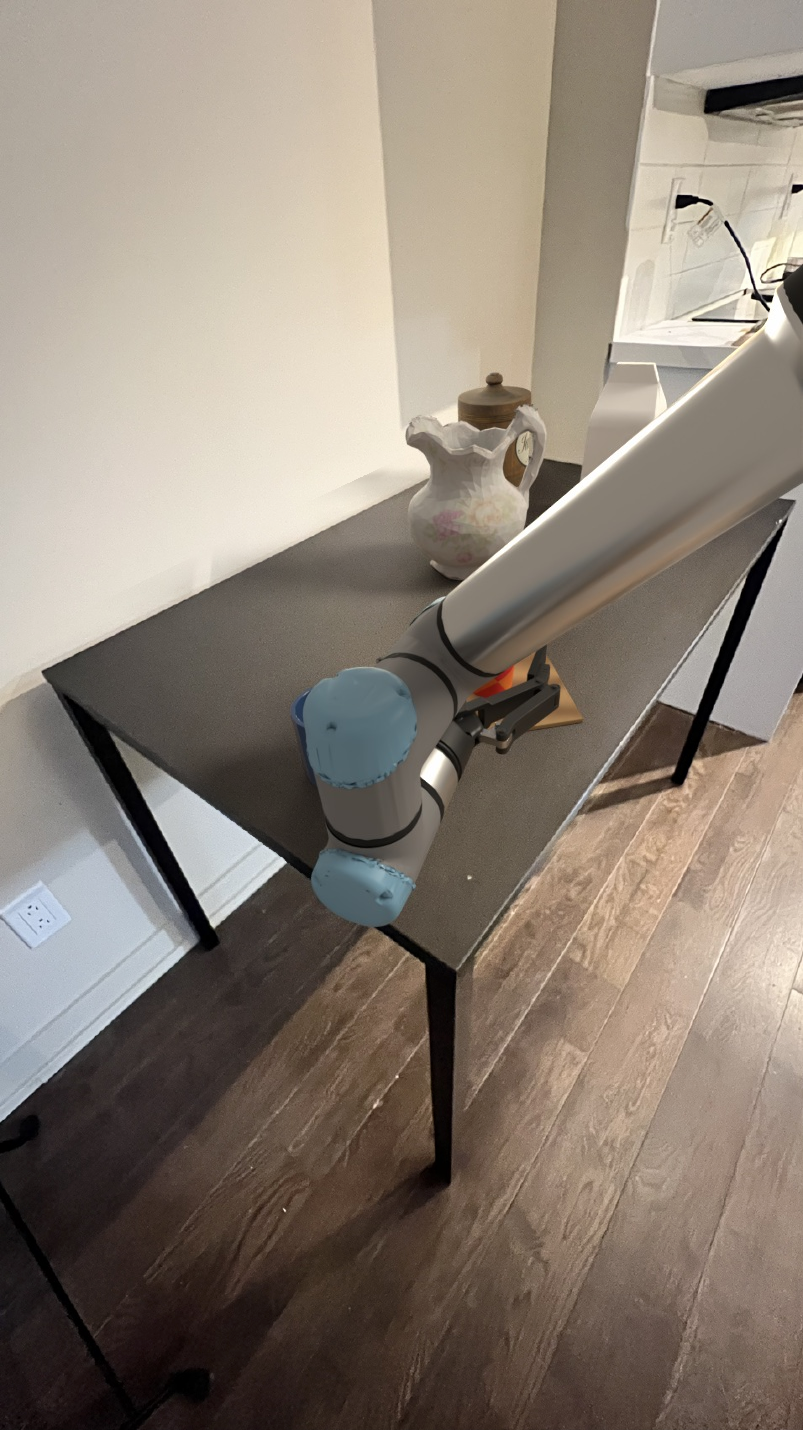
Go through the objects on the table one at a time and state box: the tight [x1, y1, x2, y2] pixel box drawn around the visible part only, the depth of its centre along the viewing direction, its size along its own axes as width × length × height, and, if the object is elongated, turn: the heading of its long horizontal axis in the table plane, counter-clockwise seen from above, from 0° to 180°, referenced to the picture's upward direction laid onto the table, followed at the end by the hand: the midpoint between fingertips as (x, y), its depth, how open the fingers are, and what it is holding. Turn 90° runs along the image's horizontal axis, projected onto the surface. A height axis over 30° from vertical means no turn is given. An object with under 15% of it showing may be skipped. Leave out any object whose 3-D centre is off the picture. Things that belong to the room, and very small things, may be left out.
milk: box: [579, 361, 668, 483], centre depth 109 cm, size 12×12×26 cm
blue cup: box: [290, 685, 318, 788], centre depth 69 cm, size 8×8×9 cm
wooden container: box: [457, 371, 532, 487], centre depth 128 cm, size 15×15×22 cm
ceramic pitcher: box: [404, 403, 547, 581], centre depth 100 cm, size 22×20×25 cm
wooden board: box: [466, 652, 584, 732], centre depth 80 cm, size 18×18×1 cm
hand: (484, 642), depth 72 cm, fingers open, 13 cm apart
